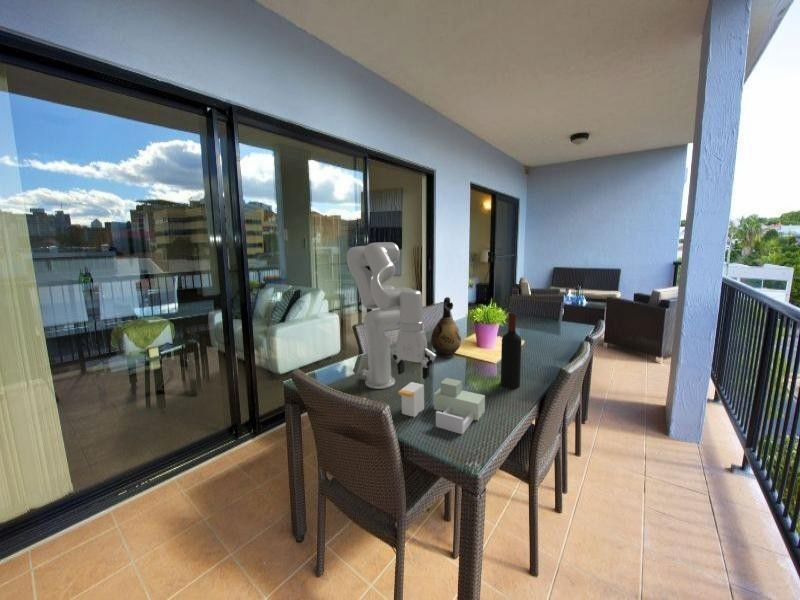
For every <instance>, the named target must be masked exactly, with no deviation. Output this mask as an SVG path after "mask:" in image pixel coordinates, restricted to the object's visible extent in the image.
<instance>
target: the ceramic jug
mask: <svg viewBox="0 0 800 600" xmlns="http://www.w3.org/2000/svg"><path fill="white" fill-rule="evenodd" d="M453 308H454V304H453V302H451V298H450V297H449V296H446V297H445V298H444V299H443V308H442V309H443V310H442V311H443V312H442V316H441V318H440V319H439V321H438V322H437V324H436V325H435V326H434V328H433V330H432V332H431V338H430V343H431V347H432V349H433V350H434V352H435V354H436V357H440V358H446V359H447V358H451V357H454V355H455V353H456V352H457V351H458V350H459V349H460V347H461V344H462V343H461V342H462V338H461V332H460V330H459V326H457V324H456V322H455V320H454V319H453V318H452V314H451V310H453Z"/></svg>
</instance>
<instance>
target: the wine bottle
mask: <svg viewBox="0 0 800 600" xmlns="http://www.w3.org/2000/svg"><path fill="white" fill-rule="evenodd" d="M507 316H508V323H507V324H508V325H507V327H508V329H507V333H504V334H503V336H502V337H501V349H500V350H501V351H500V352H501V356H500V358H501V359H500V386H502V387H503V388H505V389H511V390H512V389H514V390H515V389H518V388H520V387H521V367H522V366H521V365H522V337H521V336H520V335H519V334H518V333H517V332H516V331H517V330H516V328H517V327H516V325H517V324H516V322H517V313H516V312H514V311H513V312H508V315H507Z"/></svg>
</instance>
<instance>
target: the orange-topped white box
mask: <svg viewBox="0 0 800 600" xmlns="http://www.w3.org/2000/svg"><path fill="white" fill-rule="evenodd" d="M397 393H398V395H399V396H401V414H402V415H406V416H410V417H412V416H413V418H415V417H416V416H418V415H419V414H420V413H421V412H422V411H423V410H424V409H425V385H424V384H421V383H418V382H414V381H411V382H409V383H408V384H407V385H405V386H404V387H403V388H401V389H400V390H398V391H397ZM419 412H420V413H419ZM418 413H419V414H418Z"/></svg>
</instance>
